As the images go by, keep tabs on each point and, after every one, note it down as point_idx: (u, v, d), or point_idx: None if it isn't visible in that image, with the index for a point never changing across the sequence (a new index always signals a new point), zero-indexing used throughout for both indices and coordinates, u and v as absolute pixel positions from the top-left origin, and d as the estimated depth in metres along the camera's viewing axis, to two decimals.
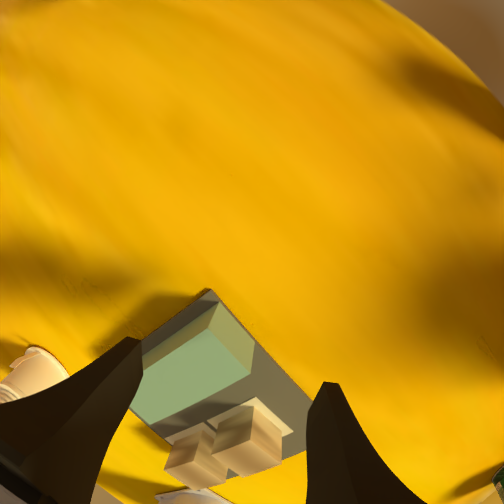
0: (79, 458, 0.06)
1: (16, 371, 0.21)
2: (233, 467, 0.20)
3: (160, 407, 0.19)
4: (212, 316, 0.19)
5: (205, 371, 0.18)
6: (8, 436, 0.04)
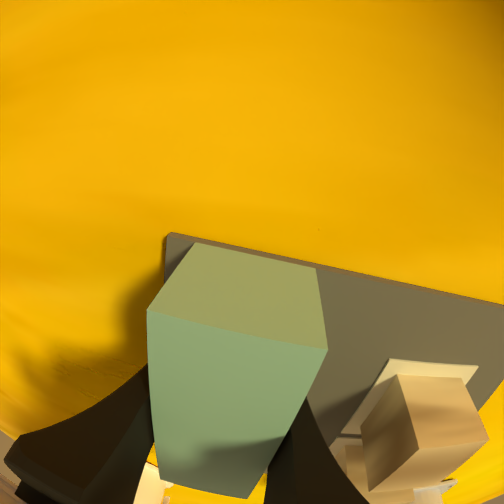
0: (125, 478, 0.06)
1: None
2: (415, 484, 0.09)
3: (234, 478, 0.09)
4: (171, 276, 0.08)
5: (233, 399, 0.07)
6: (58, 468, 0.04)
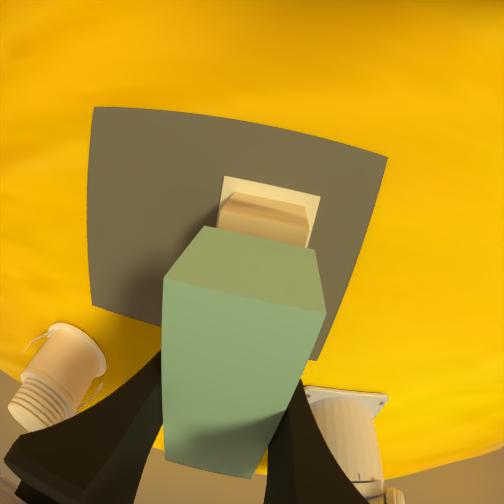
0: (125, 478, 0.06)
1: None
2: None
3: (238, 455, 0.10)
4: (184, 252, 0.09)
5: (240, 366, 0.08)
6: (58, 468, 0.04)
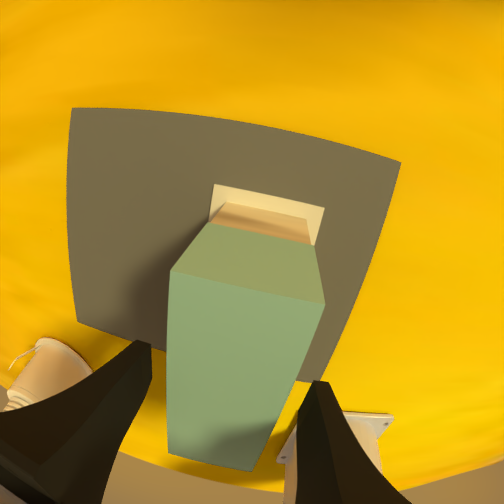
0: (91, 464, 0.06)
1: (20, 374, 0.19)
2: None
3: (240, 446, 0.11)
4: (189, 247, 0.09)
5: (242, 356, 0.08)
6: (20, 444, 0.04)
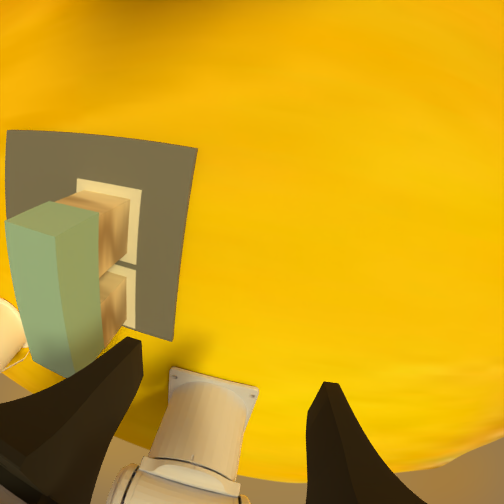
0: (79, 458, 0.06)
1: None
2: None
3: (59, 352, 0.15)
4: (24, 212, 0.13)
5: (35, 270, 0.13)
6: (8, 436, 0.04)
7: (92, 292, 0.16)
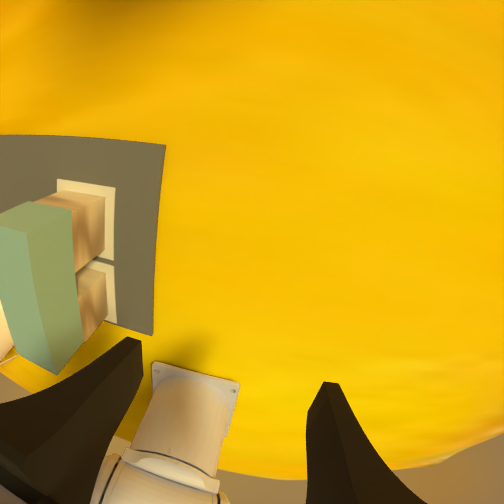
0: (79, 458, 0.06)
1: None
2: None
3: (38, 344, 0.15)
4: (4, 212, 0.13)
5: (12, 266, 0.13)
6: (8, 436, 0.04)
7: (68, 287, 0.17)
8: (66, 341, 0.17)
